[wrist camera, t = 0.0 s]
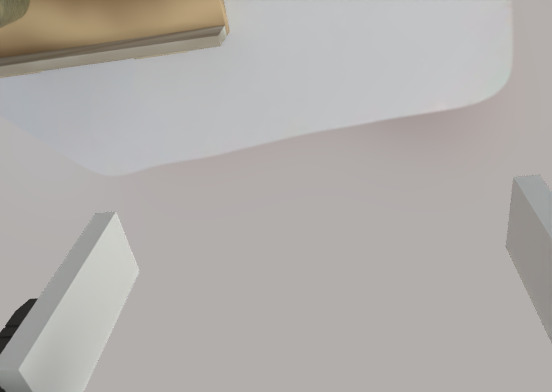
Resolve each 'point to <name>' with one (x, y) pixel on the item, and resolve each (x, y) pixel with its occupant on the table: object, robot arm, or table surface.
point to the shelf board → (107, 32)
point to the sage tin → (12, 11)
